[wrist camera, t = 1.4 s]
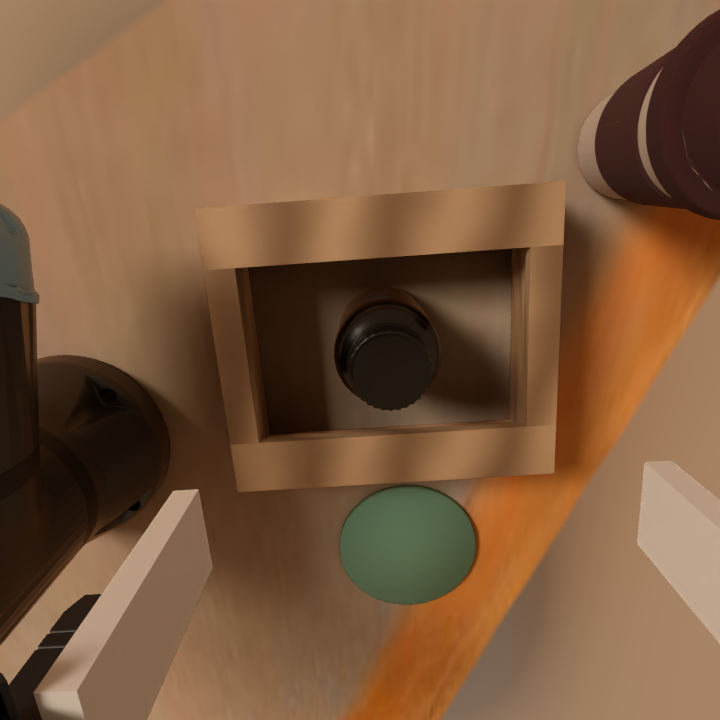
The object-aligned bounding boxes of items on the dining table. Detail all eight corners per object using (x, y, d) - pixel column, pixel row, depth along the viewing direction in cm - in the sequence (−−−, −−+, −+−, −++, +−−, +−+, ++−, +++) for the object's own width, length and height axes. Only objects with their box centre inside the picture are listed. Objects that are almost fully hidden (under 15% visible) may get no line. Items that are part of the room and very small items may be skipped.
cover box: (257, 448, 43) (237, 492, 36) (224, 209, 37) (193, 208, 31) (523, 431, 42) (554, 473, 35) (529, 186, 37) (566, 181, 30)
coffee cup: (671, 38, 34) (895, -90, 20) (715, 175, 36) (944, 151, 22) (534, 114, 35) (650, 47, 21) (585, 242, 38) (721, 260, 23)
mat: (345, 603, 47) (345, 608, 47) (334, 489, 44) (334, 492, 43) (474, 596, 47) (476, 601, 46) (473, 480, 43) (475, 484, 43)
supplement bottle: (442, 340, 40) (474, 392, 29) (369, 384, 41) (371, 450, 30) (397, 266, 38) (411, 289, 27) (322, 314, 40) (305, 355, 28)
